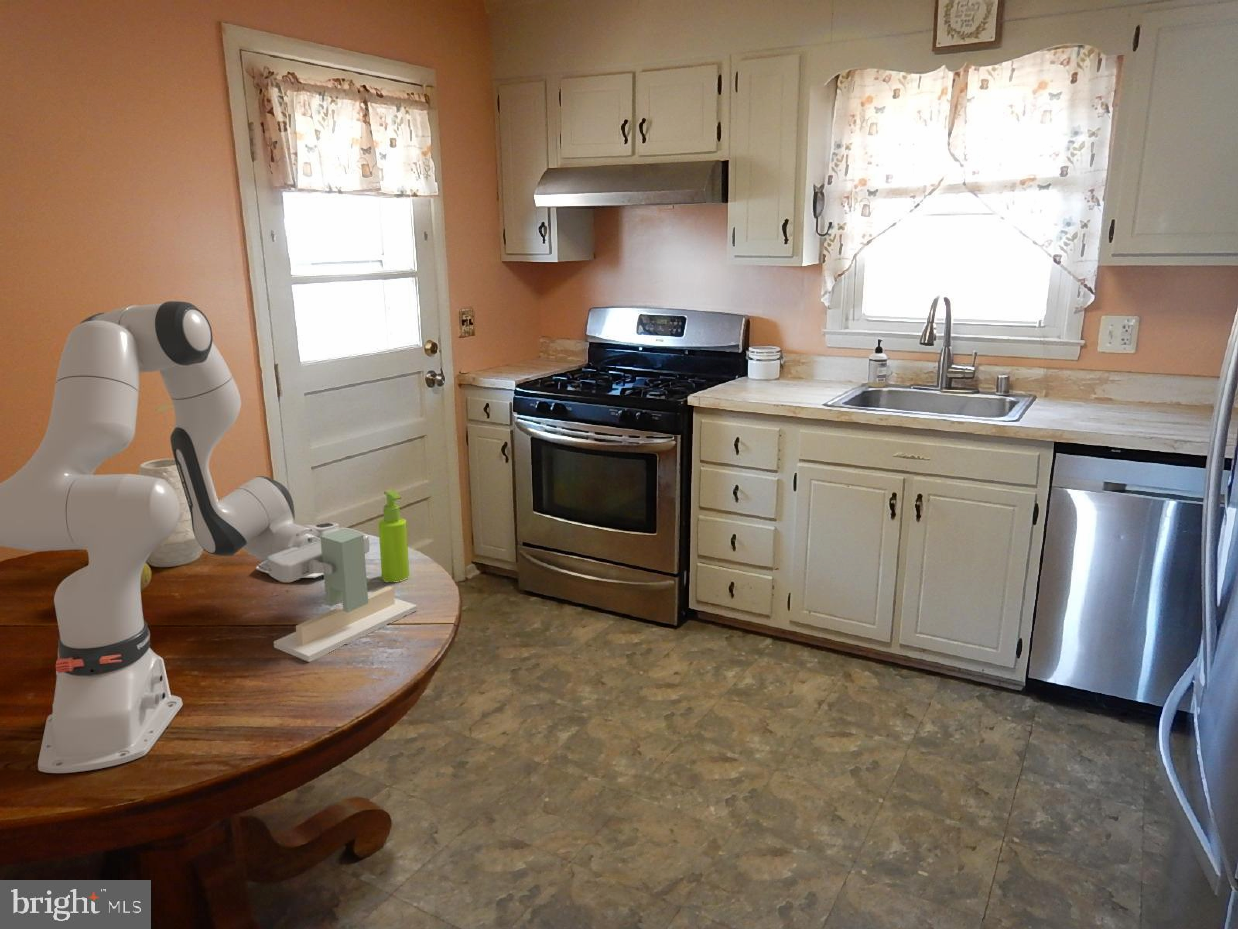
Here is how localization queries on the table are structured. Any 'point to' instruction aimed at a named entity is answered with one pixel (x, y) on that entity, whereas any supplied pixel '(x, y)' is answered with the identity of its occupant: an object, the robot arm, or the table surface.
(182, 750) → the table surface
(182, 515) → the vase
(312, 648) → the rail board
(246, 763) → the table surface
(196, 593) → the table surface
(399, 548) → the soap dispenser
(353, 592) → the tall rectangular block
